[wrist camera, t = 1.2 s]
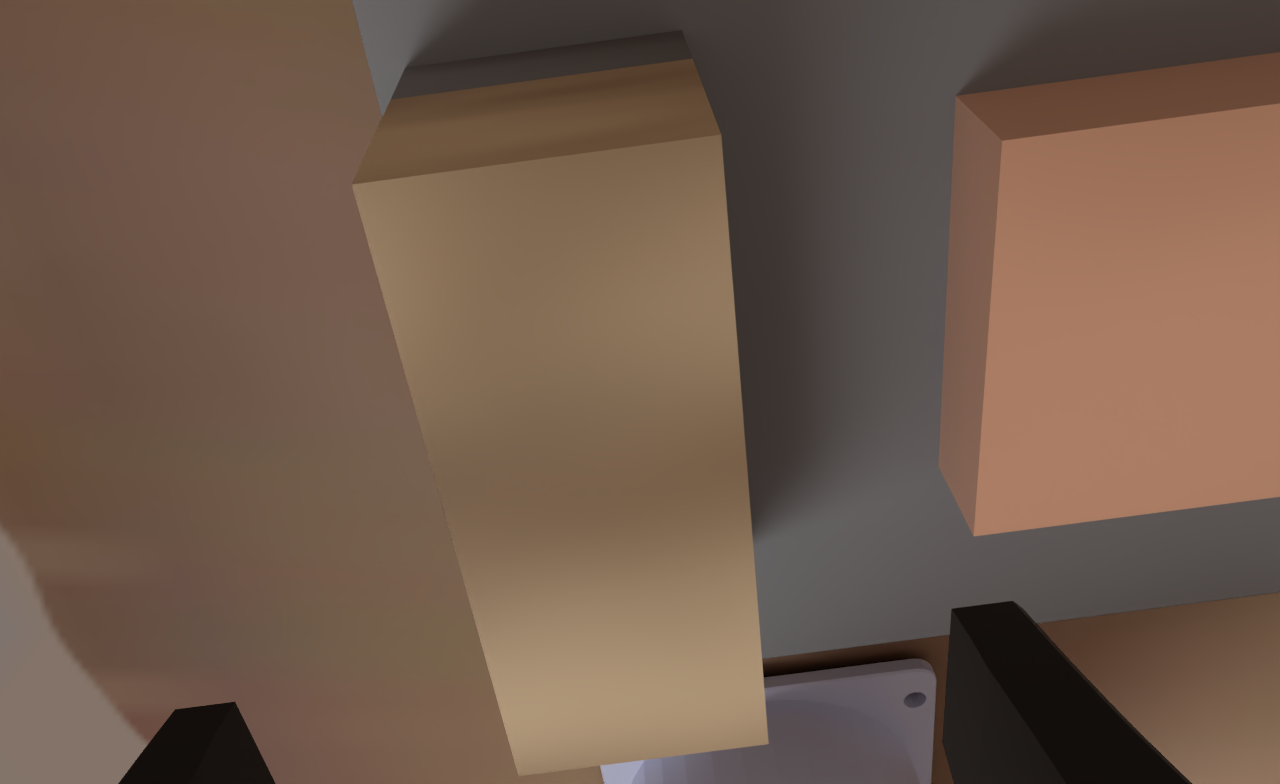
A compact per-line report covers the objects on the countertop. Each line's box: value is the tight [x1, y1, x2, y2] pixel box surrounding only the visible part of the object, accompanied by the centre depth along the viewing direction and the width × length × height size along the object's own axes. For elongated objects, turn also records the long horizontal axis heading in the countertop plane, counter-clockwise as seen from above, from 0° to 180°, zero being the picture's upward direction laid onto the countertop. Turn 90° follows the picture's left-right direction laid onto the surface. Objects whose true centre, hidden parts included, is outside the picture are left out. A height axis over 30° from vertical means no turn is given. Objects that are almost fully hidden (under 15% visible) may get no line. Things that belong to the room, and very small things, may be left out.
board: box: [352, 0, 1280, 659], centre depth 18 cm, size 16×28×2 cm, turn 97°
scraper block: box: [352, 30, 769, 776], centre depth 16 cm, size 10×4×4 cm, turn 7°
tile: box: [939, 52, 1280, 536], centre depth 17 cm, size 7×7×2 cm
